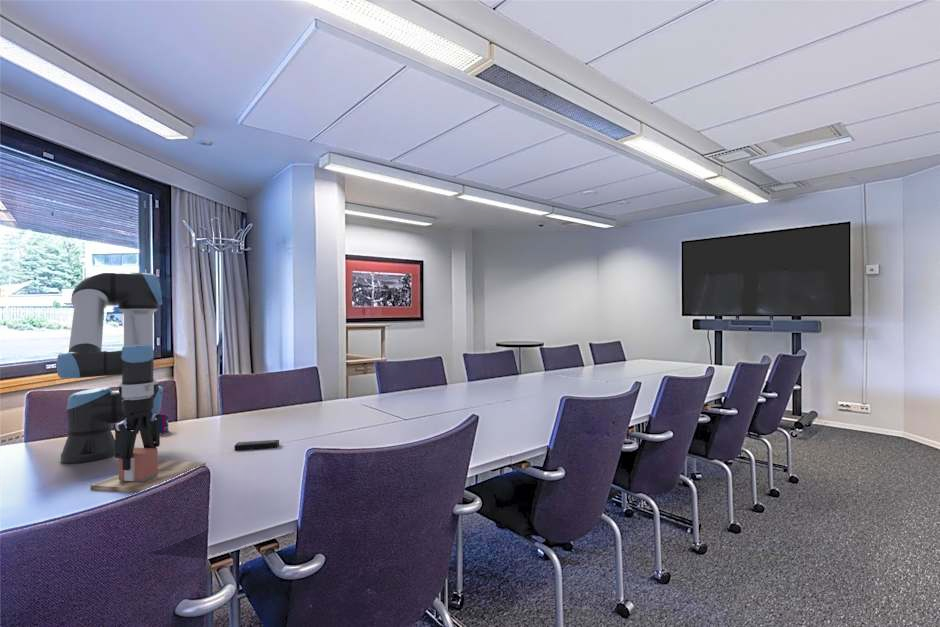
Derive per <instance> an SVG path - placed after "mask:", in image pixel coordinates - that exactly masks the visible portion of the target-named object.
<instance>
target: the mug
mask: <svg viewBox="0 0 940 627" xmlns="http://www.w3.org/2000/svg"><path fill="white" fill-rule="evenodd" d="M160 415H161V418H160V421H159V430H160V433H162V434H166V433H168V432H169V414H160ZM165 432H166V433H165Z"/></svg>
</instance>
